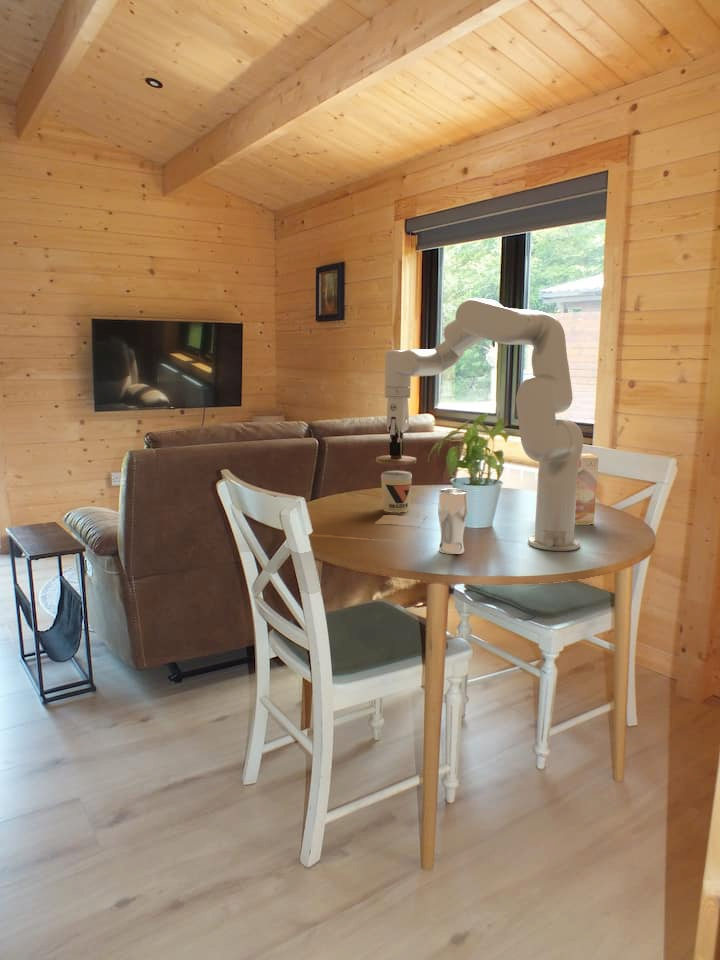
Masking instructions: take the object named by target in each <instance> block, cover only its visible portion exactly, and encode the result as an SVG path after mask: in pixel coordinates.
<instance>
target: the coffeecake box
mask: <svg viewBox="0 0 720 960" xmlns="http://www.w3.org/2000/svg"><path fill="white" fill-rule="evenodd" d="M539 466H540V462H538V467H539ZM598 469H599V456H597V455H594V454H592V453H581V457H580V462H579V469H578V481H577V495H576V511H575V526H586V525H587V526H591V525H590V524H595V511H596V499H597V486H598V485H597V484H598Z"/></svg>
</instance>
